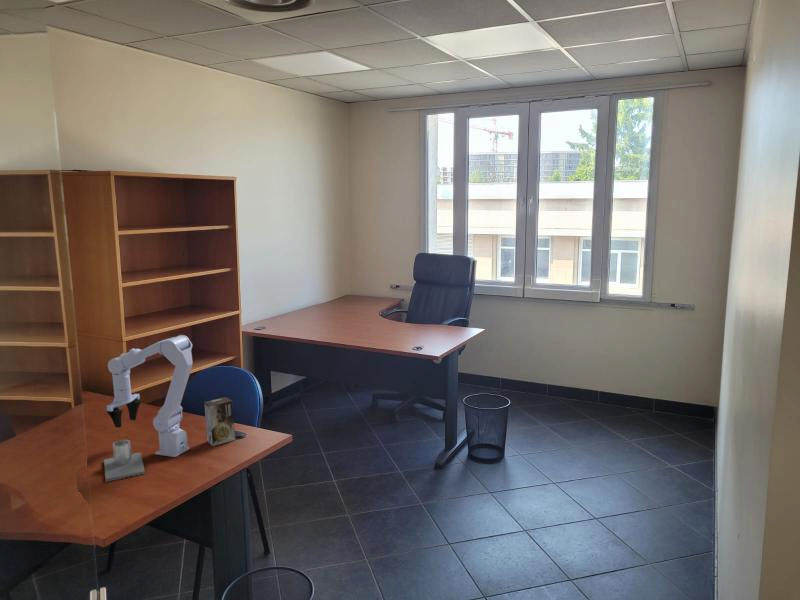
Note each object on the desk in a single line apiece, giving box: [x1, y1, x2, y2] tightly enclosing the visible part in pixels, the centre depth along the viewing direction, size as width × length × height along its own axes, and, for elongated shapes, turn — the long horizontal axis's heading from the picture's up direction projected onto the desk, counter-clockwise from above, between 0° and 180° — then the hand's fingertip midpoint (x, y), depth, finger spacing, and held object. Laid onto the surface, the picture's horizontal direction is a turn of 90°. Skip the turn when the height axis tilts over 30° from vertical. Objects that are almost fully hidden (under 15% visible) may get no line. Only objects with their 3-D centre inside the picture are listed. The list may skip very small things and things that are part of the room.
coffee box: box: [203, 396, 236, 447], centre depth 224 cm, size 9×6×16 cm
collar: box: [112, 439, 133, 465], centre depth 205 cm, size 6×6×7 cm
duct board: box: [103, 451, 146, 483], centre depth 203 cm, size 12×18×4 cm, turn 28°
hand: (125, 423), depth 218 cm, fingers open, 7 cm apart
